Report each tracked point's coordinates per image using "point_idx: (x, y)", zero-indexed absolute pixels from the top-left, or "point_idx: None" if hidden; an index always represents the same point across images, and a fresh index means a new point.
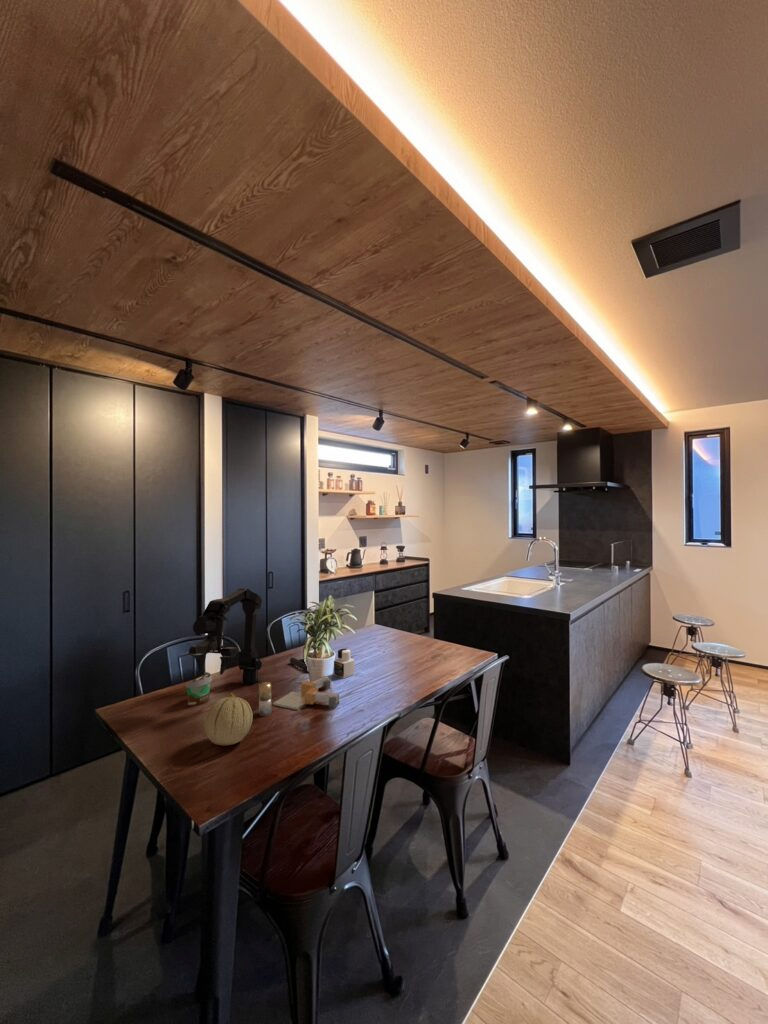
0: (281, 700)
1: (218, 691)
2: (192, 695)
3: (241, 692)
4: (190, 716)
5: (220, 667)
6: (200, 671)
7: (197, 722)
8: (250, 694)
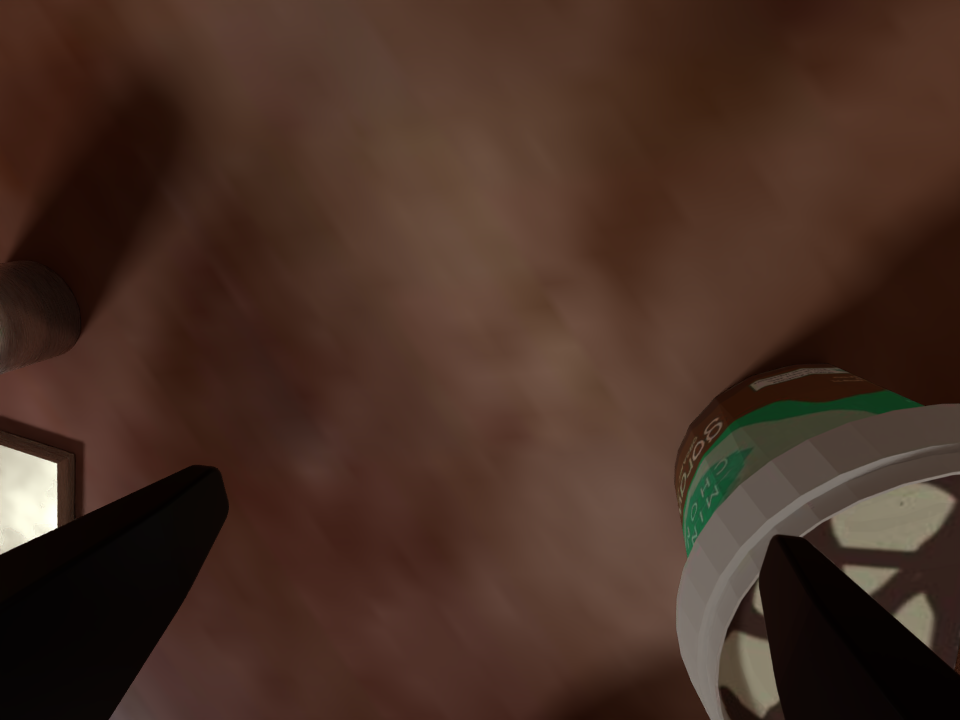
0: (27, 504)
1: None
2: (821, 400)
3: (465, 662)
4: (659, 143)
5: (70, 568)
6: (787, 560)
7: (497, 25)
8: (366, 627)
